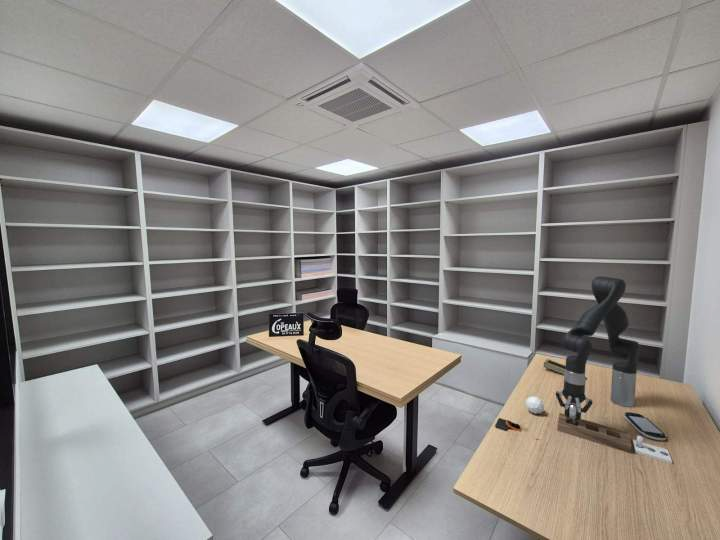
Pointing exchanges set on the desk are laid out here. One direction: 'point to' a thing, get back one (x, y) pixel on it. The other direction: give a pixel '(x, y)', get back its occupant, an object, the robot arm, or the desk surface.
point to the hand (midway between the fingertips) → (572, 417)
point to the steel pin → (572, 413)
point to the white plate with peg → (651, 450)
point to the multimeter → (508, 425)
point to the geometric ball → (534, 405)
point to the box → (555, 366)
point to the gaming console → (645, 426)
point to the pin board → (596, 433)
